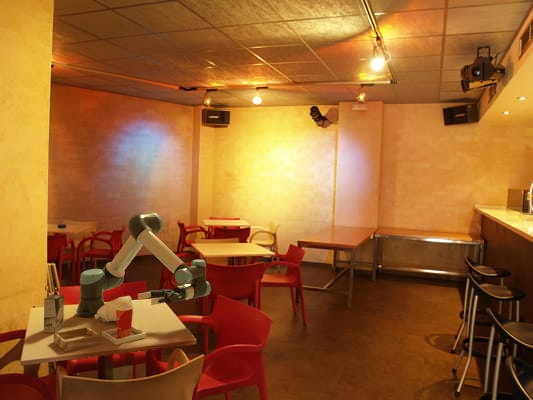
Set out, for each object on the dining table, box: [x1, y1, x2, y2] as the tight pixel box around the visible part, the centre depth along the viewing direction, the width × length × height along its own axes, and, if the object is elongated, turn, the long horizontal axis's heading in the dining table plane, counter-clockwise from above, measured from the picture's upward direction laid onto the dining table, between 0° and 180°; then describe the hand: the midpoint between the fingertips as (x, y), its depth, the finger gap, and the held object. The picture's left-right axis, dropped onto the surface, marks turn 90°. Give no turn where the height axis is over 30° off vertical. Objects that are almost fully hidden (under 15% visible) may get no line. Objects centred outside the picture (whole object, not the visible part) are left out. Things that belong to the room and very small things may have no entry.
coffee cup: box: [115, 303, 135, 339], centre depth 213 cm, size 8×8×15 cm
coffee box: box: [43, 294, 65, 333], centre depth 220 cm, size 9×6×16 cm
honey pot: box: [94, 295, 134, 323], centre depth 234 cm, size 13×13×18 cm
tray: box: [101, 325, 147, 346], centre depth 213 cm, size 15×15×2 cm
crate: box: [53, 326, 101, 353], centre depth 203 cm, size 15×15×4 cm
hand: (144, 299), depth 218 cm, fingers open, 13 cm apart
